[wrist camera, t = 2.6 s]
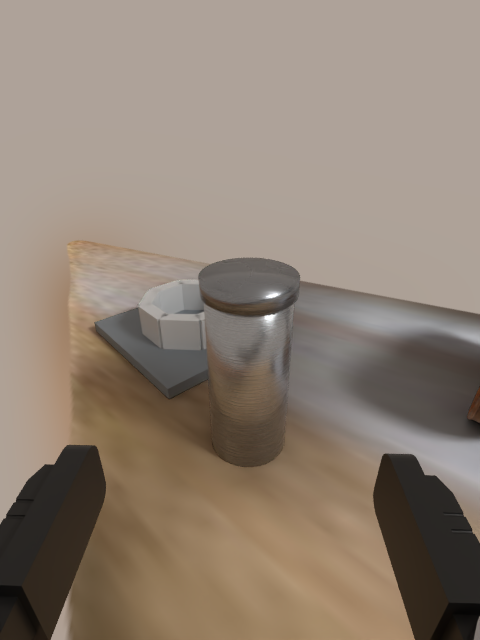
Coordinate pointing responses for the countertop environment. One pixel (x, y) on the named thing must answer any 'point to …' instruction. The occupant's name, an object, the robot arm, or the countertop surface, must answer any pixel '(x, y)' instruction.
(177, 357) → the collar
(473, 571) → the robot arm
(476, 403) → the tin
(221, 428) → the silver metal canister
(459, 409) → the countertop surface
